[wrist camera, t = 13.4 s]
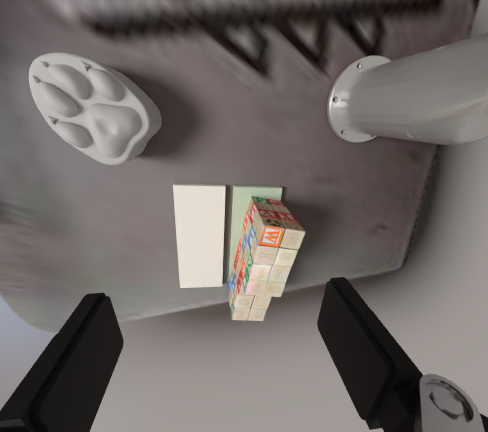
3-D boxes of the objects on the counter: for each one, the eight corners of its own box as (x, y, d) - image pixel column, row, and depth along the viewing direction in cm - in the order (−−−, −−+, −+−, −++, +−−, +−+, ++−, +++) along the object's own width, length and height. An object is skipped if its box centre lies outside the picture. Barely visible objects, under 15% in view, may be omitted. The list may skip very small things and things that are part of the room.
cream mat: (225, 184, 40) (225, 186, 39) (221, 283, 49) (222, 286, 48) (174, 183, 38) (173, 185, 38) (180, 284, 48) (180, 287, 47)
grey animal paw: (132, 165, 36) (110, 179, 29) (50, 104, 32) (-3, 101, 24) (170, 115, 34) (157, 115, 26) (88, 41, 29) (42, 15, 21)
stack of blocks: (254, 286, 50) (266, 336, 39) (227, 284, 48) (231, 335, 37) (282, 200, 41) (307, 232, 30) (250, 194, 40) (264, 225, 29)
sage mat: (280, 186, 41) (282, 188, 40) (267, 281, 51) (268, 284, 50) (233, 185, 40) (233, 186, 39) (228, 283, 50) (228, 286, 49)
